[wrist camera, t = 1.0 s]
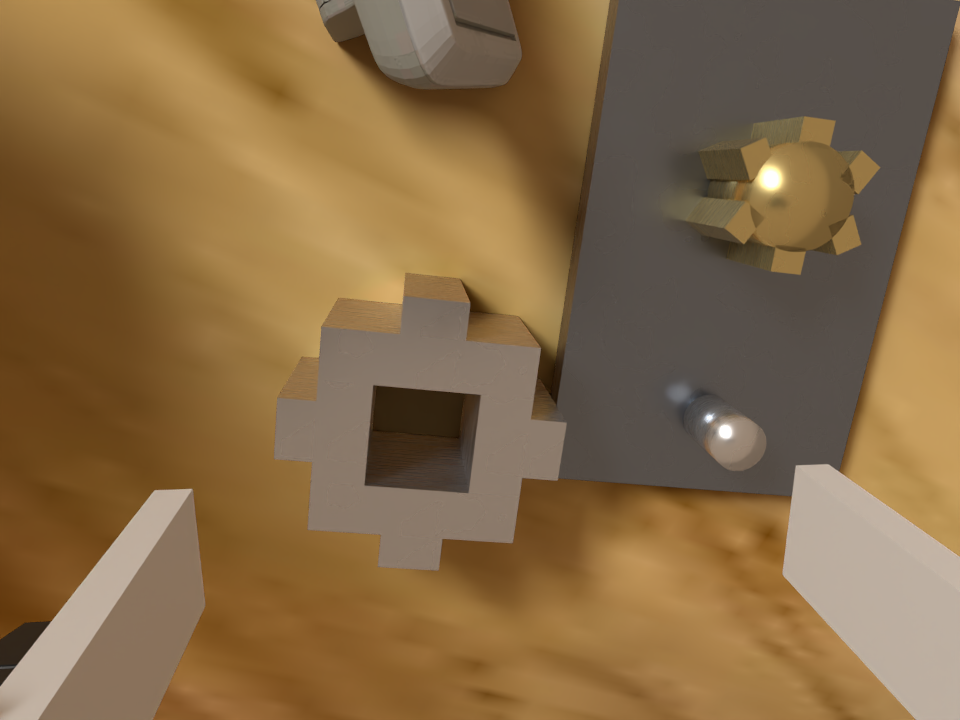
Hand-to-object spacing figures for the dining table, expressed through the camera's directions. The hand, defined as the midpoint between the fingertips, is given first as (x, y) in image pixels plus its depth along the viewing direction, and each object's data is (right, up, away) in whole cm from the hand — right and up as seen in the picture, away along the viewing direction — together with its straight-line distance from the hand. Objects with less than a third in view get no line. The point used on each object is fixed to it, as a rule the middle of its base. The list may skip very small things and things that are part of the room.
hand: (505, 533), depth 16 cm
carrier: (+11, +9, +17) cm, 22 cm away
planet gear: (-3, +2, +17) cm, 18 cm away
